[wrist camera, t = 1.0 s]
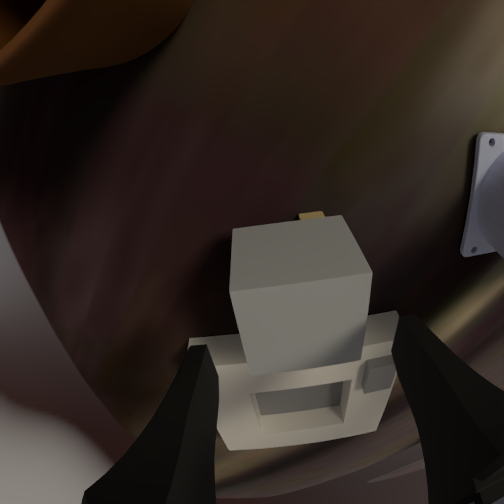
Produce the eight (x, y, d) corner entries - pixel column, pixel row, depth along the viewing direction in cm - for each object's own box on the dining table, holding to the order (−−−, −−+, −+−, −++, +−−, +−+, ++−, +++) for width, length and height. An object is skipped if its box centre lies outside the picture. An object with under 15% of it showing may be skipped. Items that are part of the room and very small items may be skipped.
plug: (333, 200, 16) (372, 272, 11) (333, 279, 18) (360, 360, 13) (233, 213, 16) (229, 291, 11) (248, 290, 19) (250, 375, 14)
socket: (396, 310, 20) (413, 346, 17) (370, 409, 28) (377, 437, 25) (189, 338, 21) (183, 377, 18) (229, 428, 28) (229, 457, 26)
